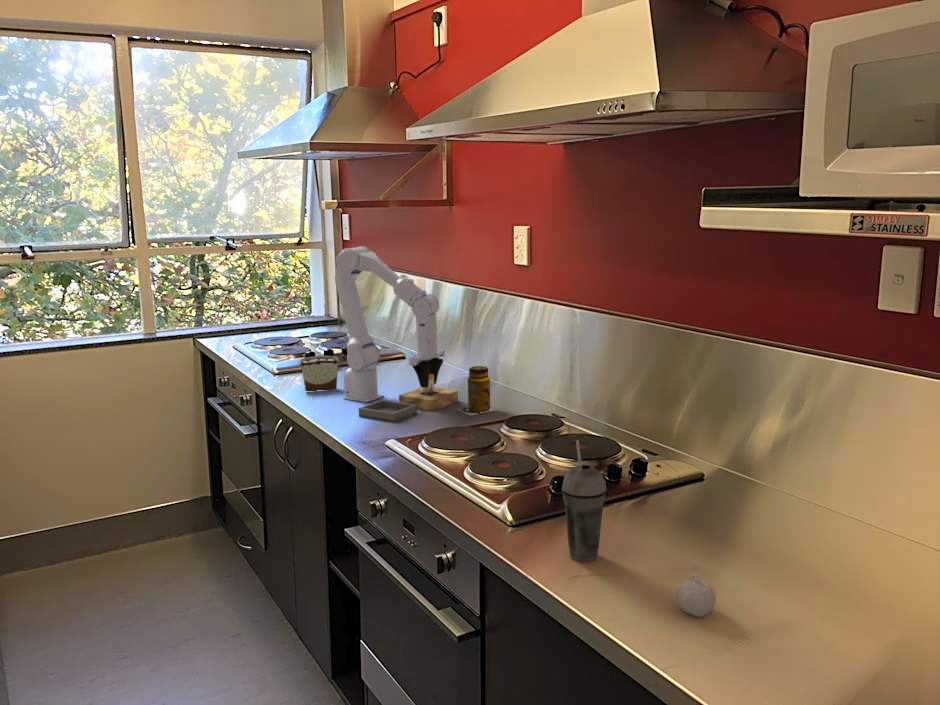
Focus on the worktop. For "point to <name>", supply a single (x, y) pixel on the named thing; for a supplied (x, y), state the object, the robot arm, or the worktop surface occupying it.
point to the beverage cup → (583, 509)
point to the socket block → (429, 398)
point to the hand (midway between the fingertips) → (428, 385)
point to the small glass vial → (429, 386)
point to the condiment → (478, 391)
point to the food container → (320, 372)
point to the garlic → (696, 597)
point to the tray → (387, 410)
